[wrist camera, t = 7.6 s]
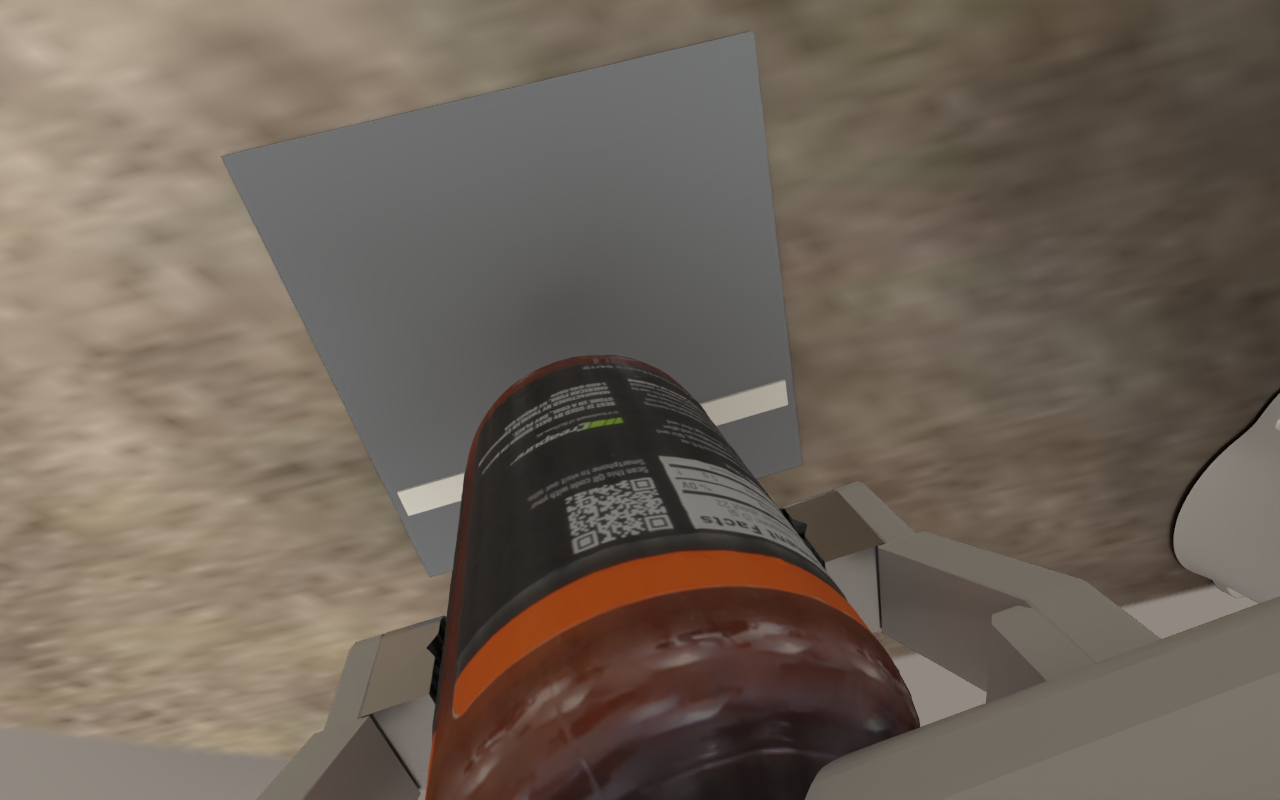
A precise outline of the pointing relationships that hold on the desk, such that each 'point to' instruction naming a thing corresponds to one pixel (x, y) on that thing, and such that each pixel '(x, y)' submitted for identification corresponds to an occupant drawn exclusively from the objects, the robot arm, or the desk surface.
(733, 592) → the supplement bottle
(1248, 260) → the desk surface
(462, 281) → the mat
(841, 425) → the desk surface
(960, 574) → the robot arm
